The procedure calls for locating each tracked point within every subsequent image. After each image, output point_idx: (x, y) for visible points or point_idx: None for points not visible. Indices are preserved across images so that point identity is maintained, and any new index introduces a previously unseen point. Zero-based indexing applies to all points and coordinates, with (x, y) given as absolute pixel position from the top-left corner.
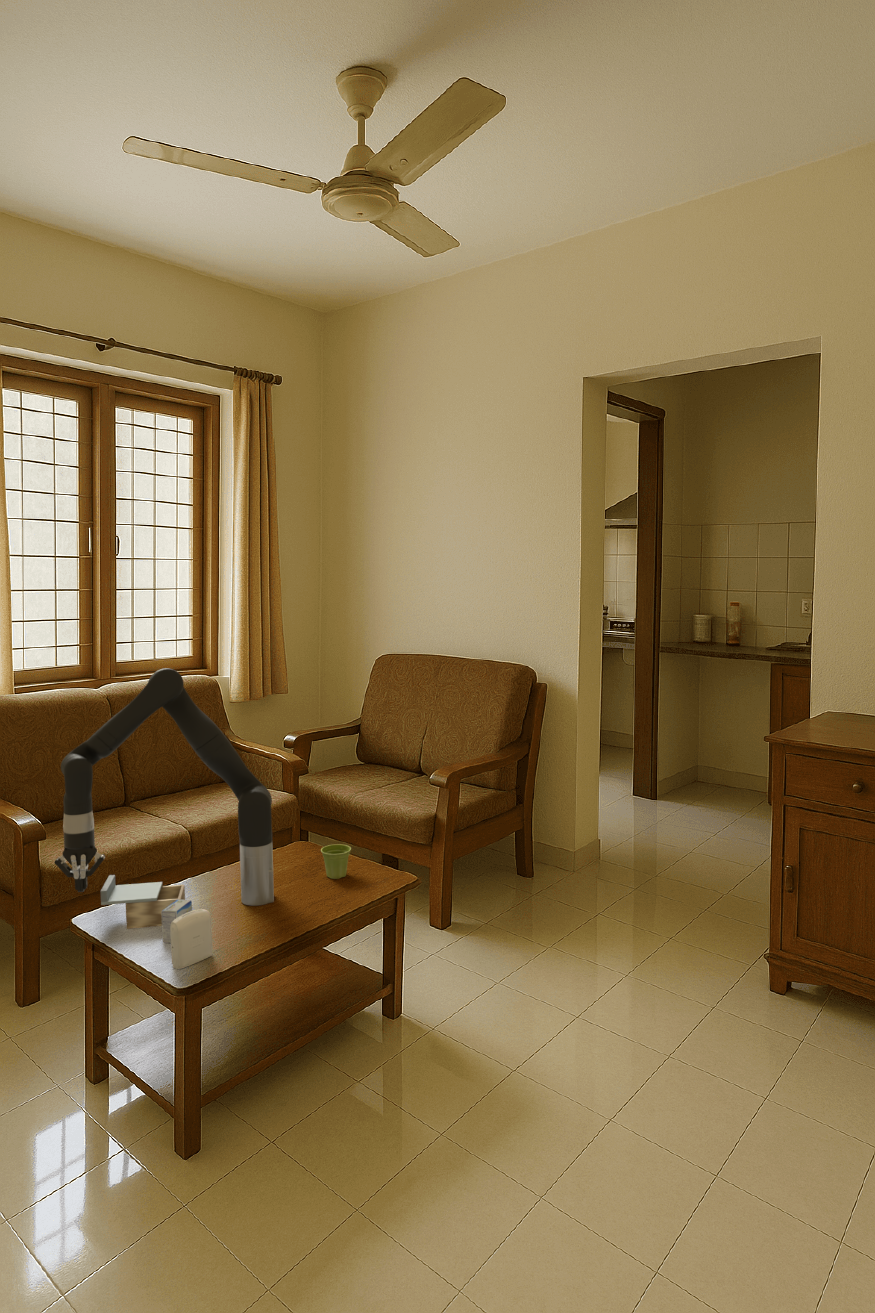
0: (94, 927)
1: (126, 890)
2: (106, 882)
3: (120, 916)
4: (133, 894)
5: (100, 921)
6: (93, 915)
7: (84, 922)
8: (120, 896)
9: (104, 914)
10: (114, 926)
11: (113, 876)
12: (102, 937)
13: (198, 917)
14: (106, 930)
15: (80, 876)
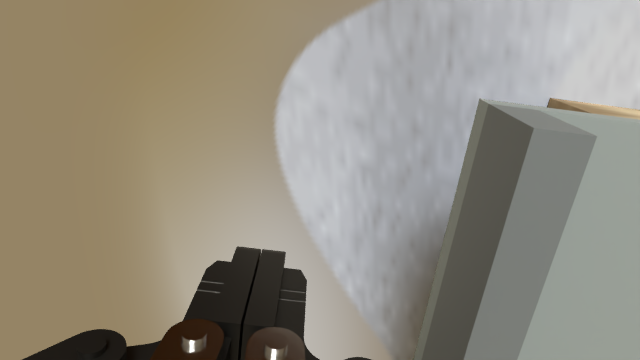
0: (344, 225)
1: (603, 263)
2: (484, 328)
3: None
4: (633, 352)
5: (371, 159)
6: (329, 56)
7: (289, 145)
8: (541, 357)
9: (391, 62)
10: (438, 244)
11: (572, 183)
12: (383, 339)
13: None
14: (400, 276)
15: (229, 351)
